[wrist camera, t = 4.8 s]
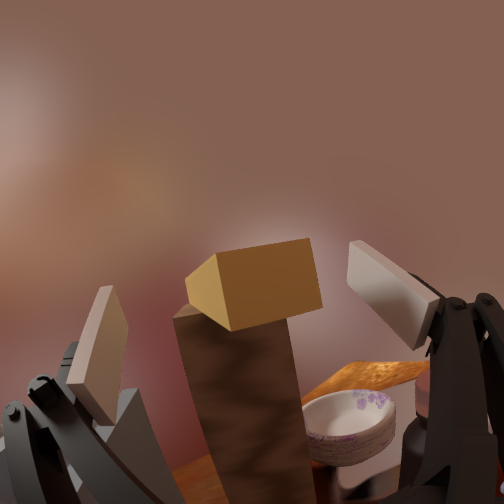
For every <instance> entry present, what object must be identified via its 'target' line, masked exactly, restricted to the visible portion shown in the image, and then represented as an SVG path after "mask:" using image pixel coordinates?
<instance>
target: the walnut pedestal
mask: <svg viewBox="0 0 504 504" xmlns="http://www.w3.org/2000/svg"><path fill="white" fill-rule="evenodd" d="M173 323H174V327H175V331H176V336H177V340H178V345H179V349H180V353H181V357H182V361H183V365H184V369H185V373H186V376H187V380H188V384H189V387H190V391H191V394H192V398H193V401H194V404H195V408H196V411H197V415H198V418H199V421H200V424H201V427H202V430H203V433H204V436H205V439H206V442H207V445H208V448H209V451H210V454H211V457H212V459H213V462H214V465H215V468H216V470H217V473H218V476H219V478H220V481H221V483H222V486H223V488H224V491H225V493H226V496H227V498H228V500H229V503H230V504H317V501H316V494H315V487H314V480H313V473H312V467H311V460H310V454H309V447H308V441H307V435H306V428H305V422H304V416H303V410H302V404H301V398H300V392H299V388H298V381H297V375H296V369H295V364H294V358H293V353H292V347H291V342H290V336H289V331H288V325H287V320H286V318H284V319H281V320H277V321H273V322H269V323H265V324H261V325H257V326H253V327H249V328H245V329H240V330H236V331H232V332H231V331H229V330H228V329H226V328H225V327H223V326H222V325H220V324H219V323H217V322H216V321H214V320H213V319H211V318H210V317H208V316H207V315H205V314H204V313H203V312H201V311H200V310H198V309H197V308H195V307H194V306H193V305H191V304H186V305H184V306H183V307H182V309H181V310H180V311H179V312H178V313H177V314H176V315H175V316H174V317H173Z"/></svg>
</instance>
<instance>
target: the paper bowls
mask: <svg viewBox="0 0 504 504" xmlns="http://www.w3.org/2000/svg"><path fill="white" fill-rule="evenodd" d="M302 410H303V416H304V422H305V428H306V435H307V441H308V447H309V454H310V459H311V460H313V461H316V462H319V463H324V464H327V465H330V466H337V467H344V466H351V465H355V464H358V463H361V462H363V461H365V460H367V459H369V458H371V457H373V456H375V455H376V454H378V453H379V452H381V451H382V450H383V449H385V447H386V446H388V445H389V444H390V442H391V441H392V439H393V437H394V435H395V425H396V424H395V415H396V406H395V403H394V401H393V400H392V399H391V398H390V397H389V396H388V395H386V394H384V393H381V392H378V391H374V390H363V389H360V390H346V391H340V392H335V393H331V394H327V395H324V396H322V397H319V398H317V399H314V400H312V401H311V402H309V403H307V404H306V405H304V406H303V407H302Z"/></svg>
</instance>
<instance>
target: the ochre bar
mask: <svg viewBox="0 0 504 504" xmlns="http://www.w3.org/2000/svg"><path fill="white" fill-rule="evenodd" d="M185 282H186V286H187V292H188V297H189V302H190V304H191V305H193V306H194V307H195V308H197V309H198V310H200V311H201V312H203V313H204V314H205V315H207V316H208V317H210V318H211V319H213V320H214V321H216V322H217V323H219V324H220V325H222V326H223V327H225V328H226V329H228V330H229V331H231V332H232V331H236V330H240V329H245V328H249V327H253V326H257V325H261V324H265V323H269V322H273V321H277V320H281V319H284V318H288V317H292V316H296V315H299V314H302V313H306V312H310V311H313V310H316V309H320V308H323V306H322V300H321V294H320V289H319V284H318V278H317V273H316V268H315V263H314V258H313V253H312V248H311V244H310V239H309V238H305V239H300V240H293V241H287V242H281V243H275V244H268V245H262V246H256V247H250V248H244V249H238V250H232V251H226V252H220V253H215V254H214V255H213V256H212V257H210V258H209V259H208V260H207V261H206V262H205V263H204V264H202V265H201V266H200V267H199V268H198V269H196V270H195V271H194V272H193V273H192V274H191V275H189V276H188V277H187V278H186V279H185Z"/></svg>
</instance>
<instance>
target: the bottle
mask: <svg viewBox="0 0 504 504" xmlns="http://www.w3.org/2000/svg"><path fill="white" fill-rule="evenodd" d="M429 394H430V369H428V370H426V371H424V372H423V373H422V374H420V376H419V377H418V378H417V380H416V382H415V407H416V415H417V416H418V417H417V418H415V419H414V421H413V422H411V423H410V424H409V425H408V427H407V429H406V431H405V432H404V434H403V443H402V458H401V468H400V477H399V485H398V490H400V489H402V488H404V487H405V486H407V485H410V487H411V488H412V487H413V483H414V480H415V478H416V476H417V474H418V472H419V470H420V468H421V465H422V460H423V454H424V448H425V440H426V432H427V422H428V411H429Z"/></svg>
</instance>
